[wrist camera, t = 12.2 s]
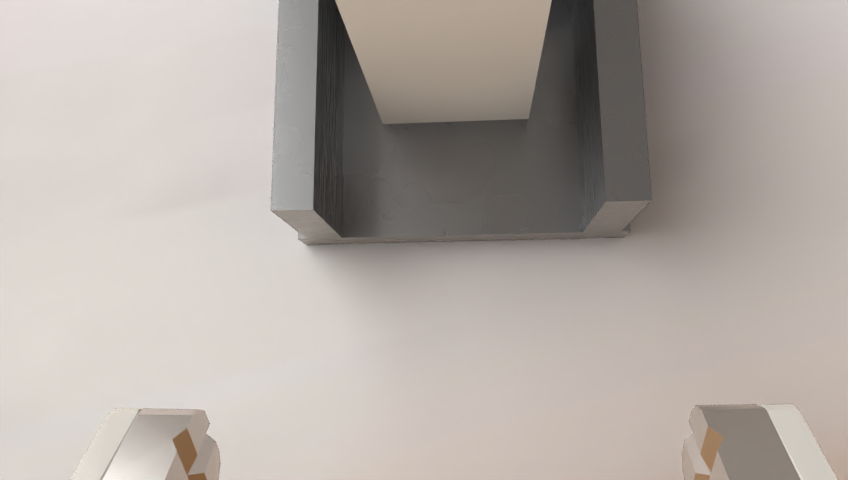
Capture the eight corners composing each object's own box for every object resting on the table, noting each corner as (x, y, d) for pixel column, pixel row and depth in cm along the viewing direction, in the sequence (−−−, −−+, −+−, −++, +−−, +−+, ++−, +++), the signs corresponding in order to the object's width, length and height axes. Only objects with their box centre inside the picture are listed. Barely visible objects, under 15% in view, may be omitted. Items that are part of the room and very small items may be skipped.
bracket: (305, 244, 24) (219, 180, 16) (314, -60, 26) (243, -247, 18) (623, 237, 23) (699, 166, 15) (603, -77, 25) (659, -280, 17)
